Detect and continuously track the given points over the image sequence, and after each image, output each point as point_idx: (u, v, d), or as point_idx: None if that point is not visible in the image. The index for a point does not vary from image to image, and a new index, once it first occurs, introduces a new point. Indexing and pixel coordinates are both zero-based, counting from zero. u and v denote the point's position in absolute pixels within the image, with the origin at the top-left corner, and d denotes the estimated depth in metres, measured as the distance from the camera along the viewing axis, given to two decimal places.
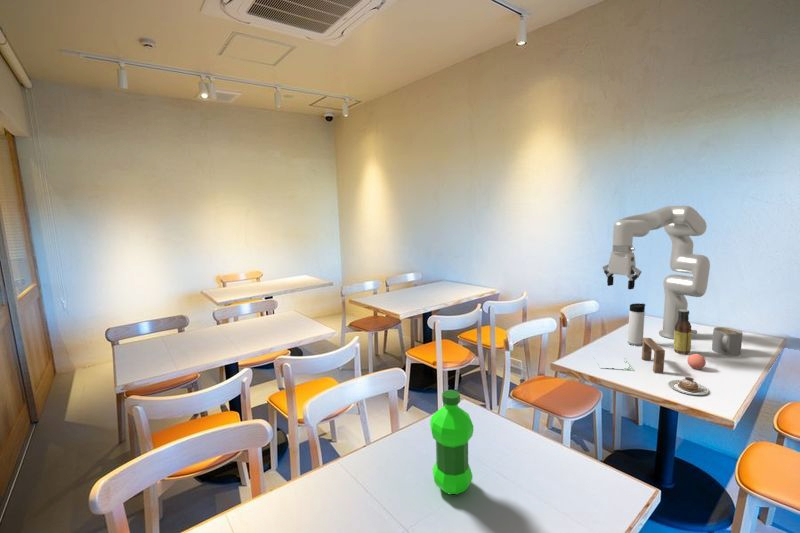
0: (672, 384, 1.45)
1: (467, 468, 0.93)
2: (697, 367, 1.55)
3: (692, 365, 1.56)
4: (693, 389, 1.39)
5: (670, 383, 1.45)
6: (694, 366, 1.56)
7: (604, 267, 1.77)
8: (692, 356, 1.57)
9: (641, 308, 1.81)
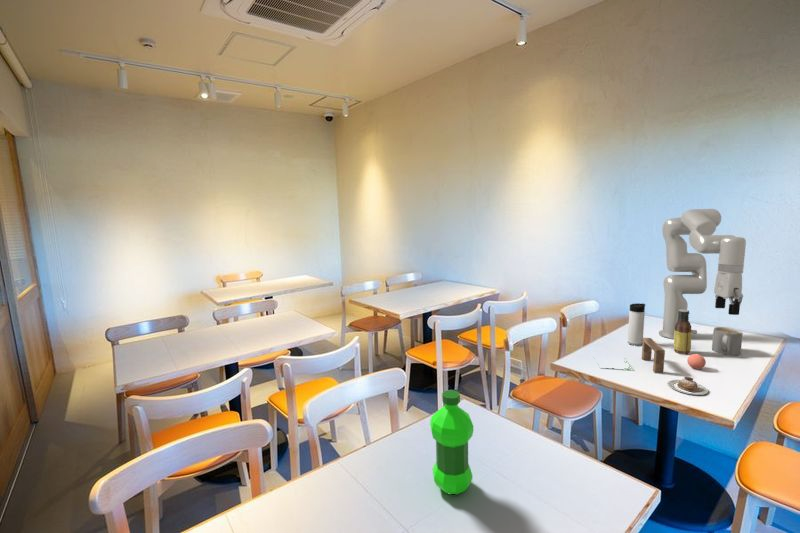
0: (672, 384, 1.45)
1: (467, 468, 0.93)
2: (697, 367, 1.55)
3: (692, 365, 1.56)
4: (692, 389, 1.39)
5: (669, 383, 1.45)
6: (694, 366, 1.56)
7: None
8: (692, 356, 1.57)
9: (641, 308, 1.81)
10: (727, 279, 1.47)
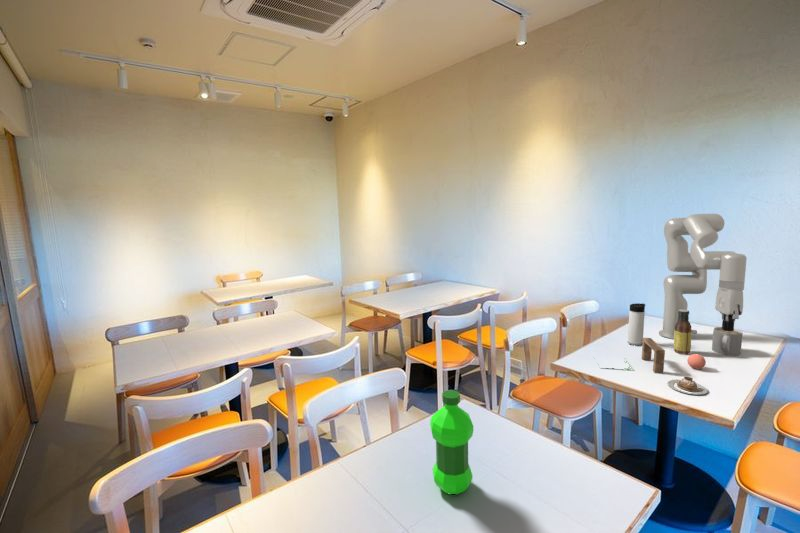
0: (671, 384, 1.45)
1: (467, 468, 0.93)
2: (697, 367, 1.55)
3: (692, 365, 1.56)
4: (692, 389, 1.39)
5: (669, 383, 1.45)
6: (694, 366, 1.56)
7: None
8: (692, 356, 1.57)
9: (641, 308, 1.81)
10: (728, 296, 1.48)
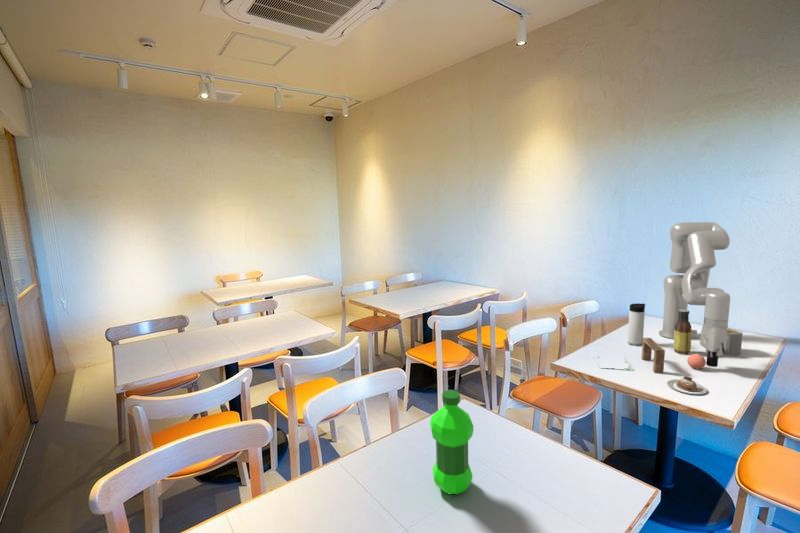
0: (671, 383, 1.45)
1: (467, 468, 0.93)
2: (697, 367, 1.55)
3: (692, 365, 1.56)
4: (692, 388, 1.39)
5: (668, 383, 1.45)
6: (694, 366, 1.56)
7: None
8: (692, 356, 1.57)
9: (641, 308, 1.81)
10: (713, 334, 1.51)
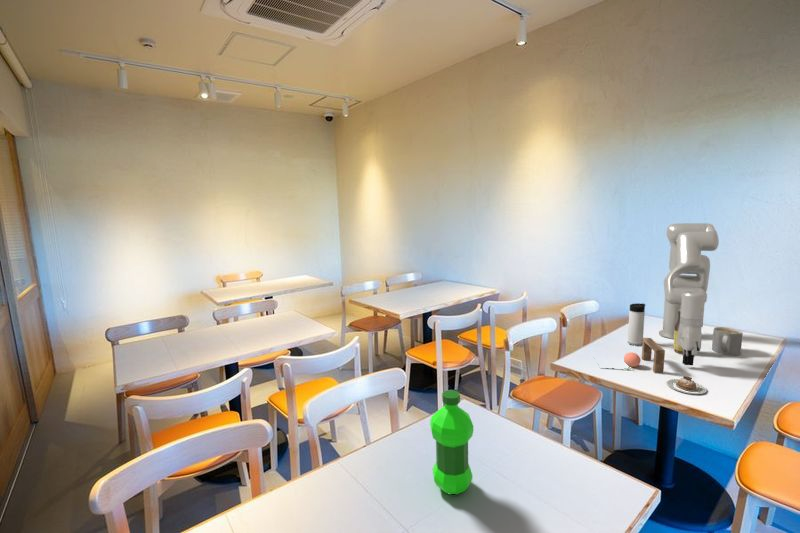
0: (670, 383, 1.45)
1: (467, 468, 0.93)
2: (638, 364, 1.59)
3: (635, 366, 1.60)
4: (691, 388, 1.39)
5: (668, 383, 1.45)
6: (637, 365, 1.60)
7: None
8: (626, 363, 1.62)
9: (641, 308, 1.81)
10: (687, 333, 1.53)
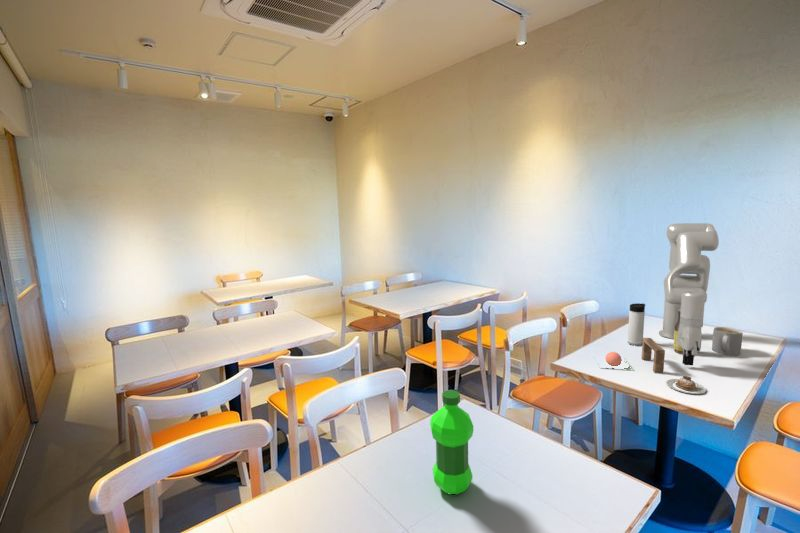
0: (670, 383, 1.45)
1: (467, 468, 0.93)
2: (614, 357, 1.60)
3: (617, 355, 1.61)
4: (691, 388, 1.40)
5: (668, 382, 1.46)
6: (616, 355, 1.61)
7: None
8: None
9: (641, 308, 1.81)
10: (687, 333, 1.53)
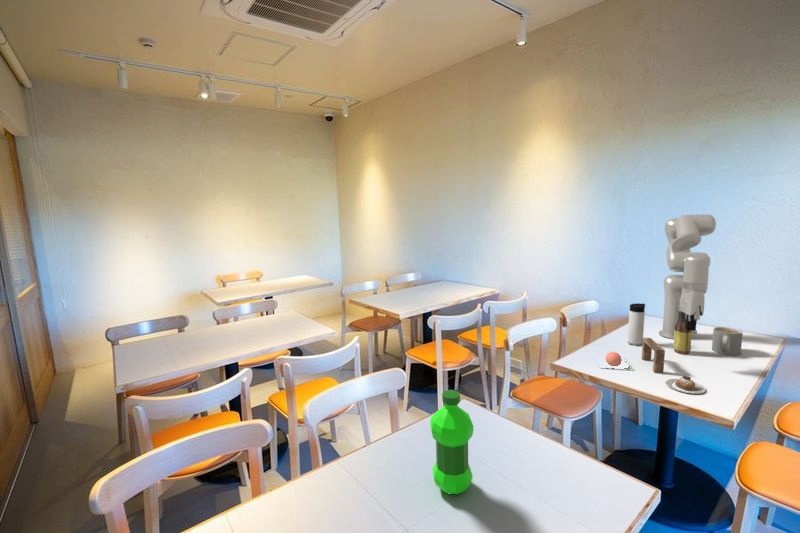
0: (669, 383, 1.46)
1: (467, 468, 0.93)
2: (614, 357, 1.60)
3: (617, 355, 1.61)
4: (690, 388, 1.40)
5: (667, 382, 1.46)
6: (616, 355, 1.61)
7: None
8: None
9: (641, 308, 1.81)
10: (690, 297, 1.51)
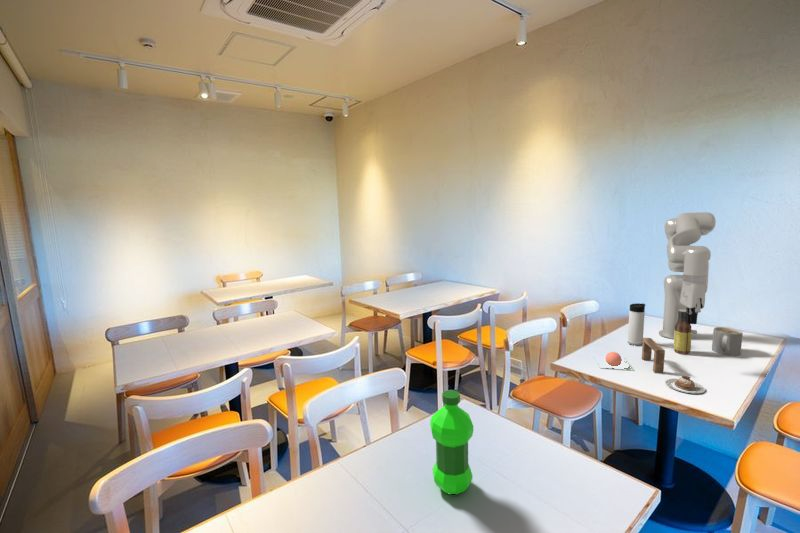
0: (669, 383, 1.46)
1: (467, 468, 0.93)
2: (614, 357, 1.60)
3: (617, 355, 1.61)
4: (690, 387, 1.40)
5: (667, 382, 1.46)
6: (616, 355, 1.61)
7: None
8: None
9: (641, 308, 1.81)
10: (691, 289, 1.51)
